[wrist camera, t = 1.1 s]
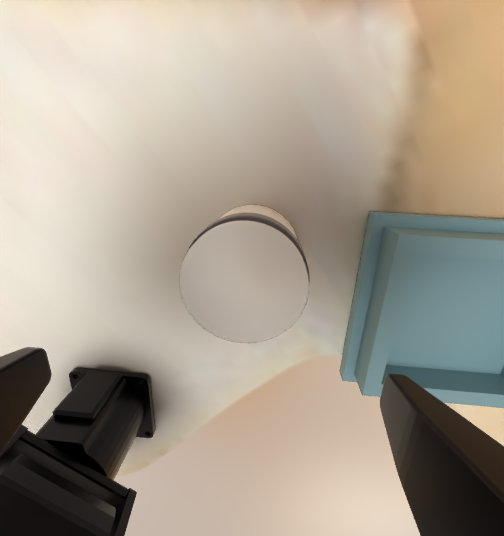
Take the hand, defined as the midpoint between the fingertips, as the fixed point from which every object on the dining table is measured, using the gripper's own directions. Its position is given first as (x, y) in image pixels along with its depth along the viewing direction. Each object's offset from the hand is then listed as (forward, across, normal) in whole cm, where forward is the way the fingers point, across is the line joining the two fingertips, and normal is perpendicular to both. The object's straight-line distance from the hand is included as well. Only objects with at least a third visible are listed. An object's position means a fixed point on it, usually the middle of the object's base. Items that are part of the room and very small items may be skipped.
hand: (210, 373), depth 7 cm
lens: (+12, 0, 0) cm, 12 cm away
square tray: (+12, -13, +3) cm, 18 cm away
